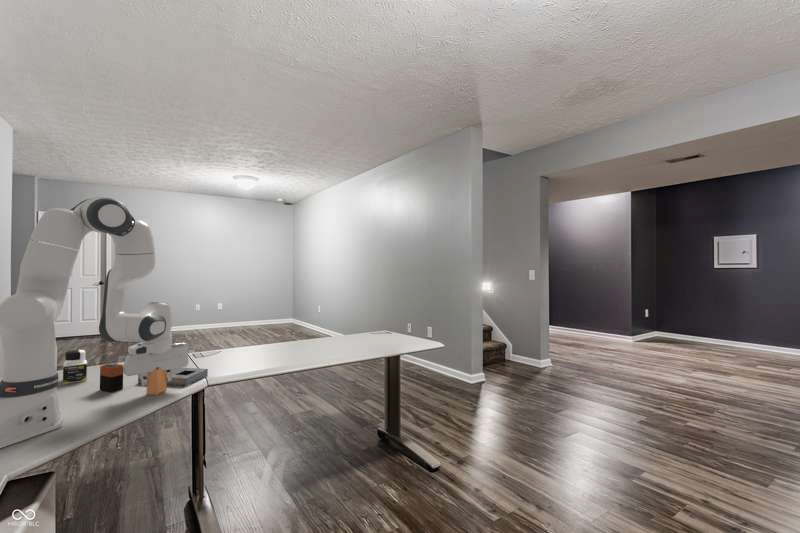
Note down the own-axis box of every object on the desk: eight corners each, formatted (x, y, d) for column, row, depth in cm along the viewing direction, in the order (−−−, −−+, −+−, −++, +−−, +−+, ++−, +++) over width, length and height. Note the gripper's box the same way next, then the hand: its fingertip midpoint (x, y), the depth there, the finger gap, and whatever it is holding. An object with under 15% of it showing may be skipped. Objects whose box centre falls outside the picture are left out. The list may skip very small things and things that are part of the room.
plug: (156, 394, 135) (157, 368, 135) (146, 394, 135) (147, 367, 135) (166, 390, 140) (167, 364, 140) (156, 389, 140) (157, 364, 140)
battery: (111, 392, 136) (111, 365, 136) (98, 390, 138) (99, 363, 138) (123, 389, 140) (124, 362, 140) (111, 386, 142) (112, 360, 142)
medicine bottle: (62, 384, 144) (63, 353, 144) (63, 379, 149) (63, 350, 149) (86, 381, 149) (87, 351, 149) (86, 376, 154) (87, 347, 154)
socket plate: (186, 386, 145) (186, 378, 145) (138, 383, 147) (138, 376, 147) (207, 375, 159) (207, 368, 159) (163, 373, 161) (163, 366, 161)
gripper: (185, 340, 148) (184, 375, 147) (122, 348, 132) (121, 387, 132) (191, 343, 143) (190, 379, 143) (126, 351, 128) (125, 391, 128)
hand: (156, 383), depth 138 cm, fingers closed on plug, 6 cm apart
